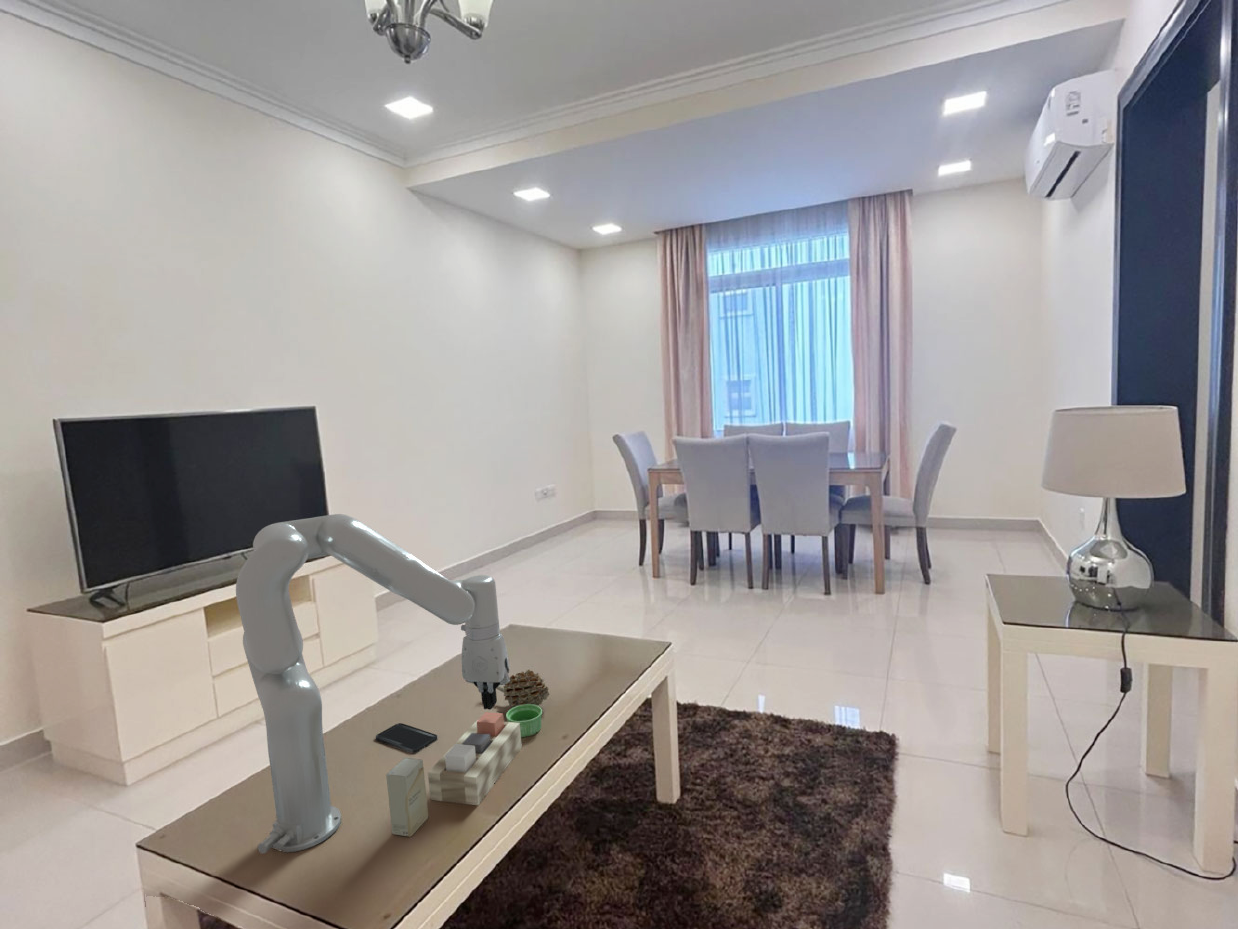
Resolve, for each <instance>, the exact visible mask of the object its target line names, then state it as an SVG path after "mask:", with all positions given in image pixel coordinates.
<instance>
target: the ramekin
mask: <svg viewBox="0 0 1238 929" xmlns="http://www.w3.org/2000/svg"><path fill="white" fill-rule="evenodd" d="M542 716H543V709H542V708H541V707H540V705H539V706H537V705H535V704H534V705H533V704H524V705H519V706H518V705H515V706H512V708H510V709H509V710H507V712H506V714H505V718H506V720H507V721H506V722H515V723H520V732H521V738H524V737H525V738H526V736H527V737H531V736H533V735H535V734H537V733H538V732H540V731H541V729H542ZM536 732H537V733H536Z"/></svg>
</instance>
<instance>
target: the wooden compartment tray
mask: <svg viewBox="0 0 1238 929" xmlns="http://www.w3.org/2000/svg"><path fill="white" fill-rule="evenodd" d="M478 720H479V719H477V720H476V721H475V722H474V723H473V724H472V725H471V726H469V728H468V729H467V730H466V731H465V732H464V734H463V735H461V736H460V738H459V739H457V741H455V743H454V744H453V745H452V746H451V747H450V748H449V750H447V752H445V754H444V755H443V756H442V757H441V758H440V759H439V760H438V761H437V762H436V763H435V764H434V765H433V767H431V769H430V770H428V772H427V776H428V777H427V778H428V788H429V799H430V800H432V801H439V802H445V803H454V804H455V803H456V804H462V805H463V804H464V805H472V806H480V804H481V803H480V802H482V801H483V800H484V799H485V797H486V796H485V795H488V793H489V792H490V790H491V789H492V788H493V787H494V785H495V784H496V782H497V781H498V780H499V779H500V777H501V776H502V774H503V773H504V772H505V770H506V769H507V768H508V766H509V765H510V764H511V762H512V761H513V759H514V758H515V757H516V755H517V754H518V752H519V751H520V750H521V749H522V747H523V746H522V744H523V743H522V737H521V732H520V723H515V722H508V721H504V729H503V730H502V731H501V732H500V734H499V735H498V736H497V737H491V736H490V740H491V744H490V746H489V747H488V748H487V749H486V750H485V751H484V753H483V754H477V753H475V754H476V762H475V763H474V765H473V766H472V767H471V768H470V769H469V771H468V772H467V773H464V772H455V771H446V761H445V755H446V754H447V753H448V752H449V751H450V750H451V749H452V747H453V746H454V745H455V744H462V743H463V742H464V741H465V740H466V739H467V738H468V736H469V735H470V734H471V733H478V732H477V721H478ZM503 771H504V772H503ZM494 783H495V784H494ZM484 796H485V797H484ZM483 798H484V799H483ZM482 799H483V800H482Z"/></svg>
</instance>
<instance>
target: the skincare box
mask: <svg viewBox="0 0 1238 929" xmlns="http://www.w3.org/2000/svg"><path fill="white" fill-rule="evenodd" d="M385 776H386V786H387V794H388V805H389V814H390V824H391V825H390V826H391V834H392V835H398V836H404V837H412V836H413V835H414V834H415V833H416V832H417V831H418V830H419V828H420V827H422V826H423V824H424V823H425V822H426V821H427V820H428V818H429V808H428V799H427V798H428V797H427V789H426V780H425V768H424V760H423V759H420V758H412V757H404V758H402V760H401V761H400V762H398V763H397V764H396V765H395V766H394V767H393V768H392V769H391V770H389V771H388V772H387V773H386V774H385Z"/></svg>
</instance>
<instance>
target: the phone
mask: <svg viewBox="0 0 1238 929" xmlns="http://www.w3.org/2000/svg"><path fill="white" fill-rule="evenodd" d="M438 740H439V739H438V734H435V733H432V732H429V731H427V730H423V729H421V728H417V727H414V726H411V725H408V724H406V723H402V722H399V723H396V724H394V725H392V726H389V727H388V728H386V729H385V730H382V732H380V733H377V734H376V735H375V741H377V742H378V743H379V742H380V743H383V744H385V745H388V746H390V747H393V748H396V749H399V750H401V751H404V752H408V753H410V754H417V753H419V752H420V751H422V750H424V749H426V748H427V747H429V746H430V745H432V744H433V743H435V742H436V741H438Z"/></svg>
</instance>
